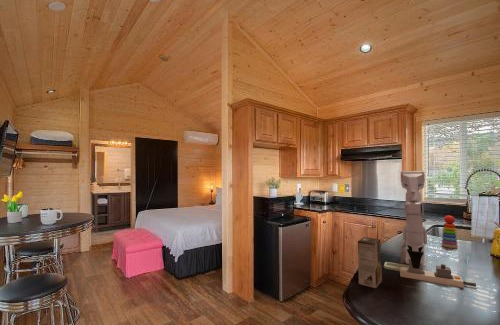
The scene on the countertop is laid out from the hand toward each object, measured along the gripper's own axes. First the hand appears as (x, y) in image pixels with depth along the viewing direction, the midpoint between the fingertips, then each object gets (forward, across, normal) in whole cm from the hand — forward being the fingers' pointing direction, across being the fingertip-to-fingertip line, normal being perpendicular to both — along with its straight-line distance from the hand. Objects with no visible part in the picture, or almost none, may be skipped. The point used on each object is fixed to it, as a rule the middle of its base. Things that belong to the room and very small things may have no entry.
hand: (415, 265), depth 105 cm
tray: (+5, -7, -7) cm, 11 cm away
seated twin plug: (+5, 0, +9) cm, 10 cm away
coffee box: (+5, +16, -15) cm, 23 cm away
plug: (+4, 0, 0) cm, 4 cm away
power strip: (+5, 0, +7) cm, 8 cm away
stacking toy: (+5, -72, +18) cm, 74 cm away
